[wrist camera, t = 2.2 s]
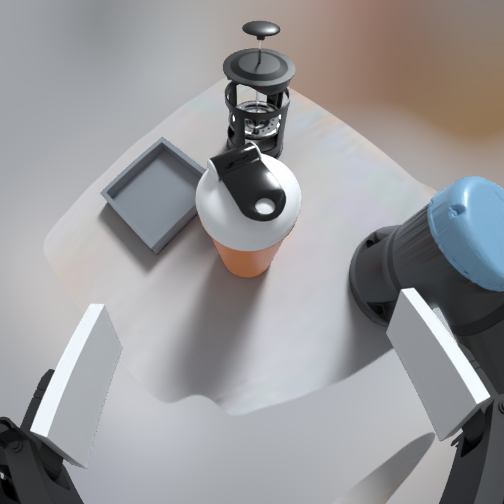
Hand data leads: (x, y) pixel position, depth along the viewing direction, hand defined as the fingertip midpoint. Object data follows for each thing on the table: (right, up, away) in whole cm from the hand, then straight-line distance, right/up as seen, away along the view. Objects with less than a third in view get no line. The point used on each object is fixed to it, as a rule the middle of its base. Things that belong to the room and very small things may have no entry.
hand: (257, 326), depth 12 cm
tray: (-14, +12, +30) cm, 36 cm away
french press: (+1, +22, +34) cm, 40 cm away
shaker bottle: (-1, +3, +28) cm, 28 cm away
